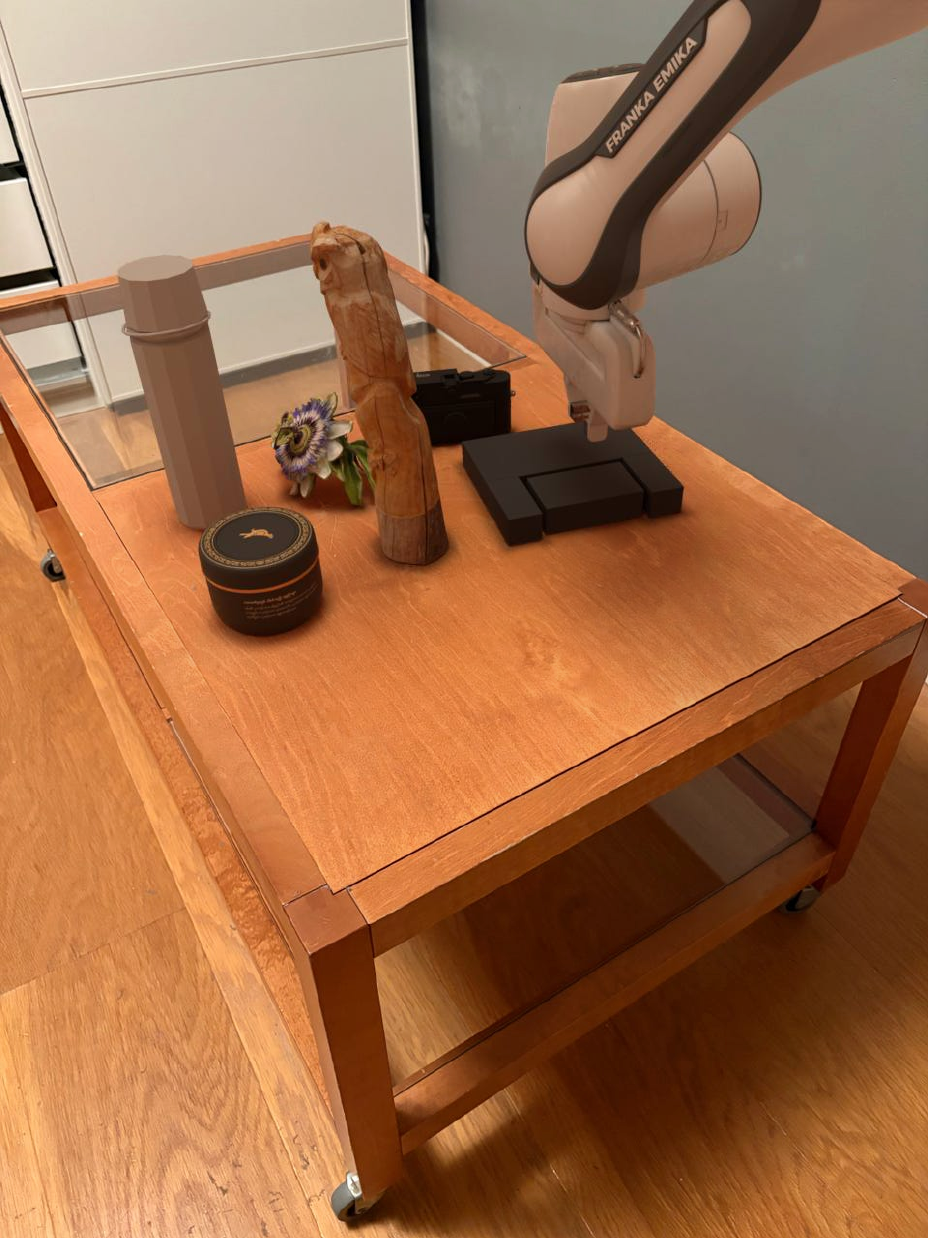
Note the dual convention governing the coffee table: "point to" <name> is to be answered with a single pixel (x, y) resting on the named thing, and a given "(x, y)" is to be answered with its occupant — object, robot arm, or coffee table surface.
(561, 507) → the black pad
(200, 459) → the water bottle
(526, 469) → the base pad
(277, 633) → the jar
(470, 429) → the camera
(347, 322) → the sculpture
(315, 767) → the coffee table surface
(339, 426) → the passion flower
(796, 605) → the coffee table surface
